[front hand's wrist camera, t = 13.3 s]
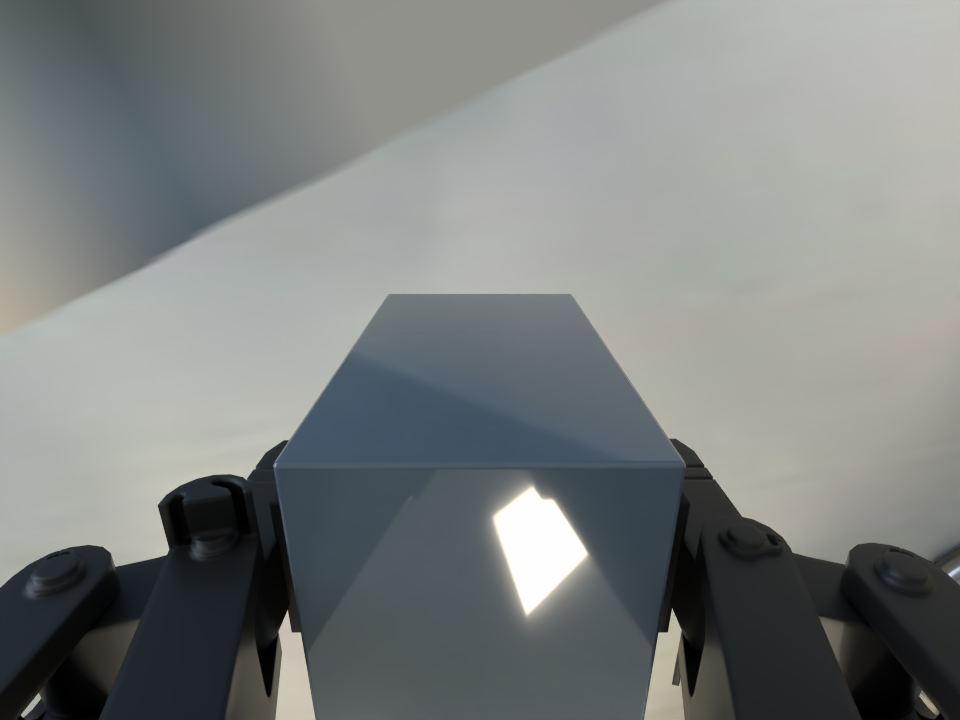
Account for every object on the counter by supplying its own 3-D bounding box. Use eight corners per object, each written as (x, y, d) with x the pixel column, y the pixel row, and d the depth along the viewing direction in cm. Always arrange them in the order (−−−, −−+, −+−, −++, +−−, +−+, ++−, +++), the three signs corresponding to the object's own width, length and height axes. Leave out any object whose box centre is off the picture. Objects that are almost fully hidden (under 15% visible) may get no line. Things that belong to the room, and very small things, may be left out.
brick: (572, 293, 14) (689, 463, 6) (560, 464, 16) (638, 759, 8) (387, 293, 14) (269, 463, 6) (398, 464, 16) (319, 759, 8)
